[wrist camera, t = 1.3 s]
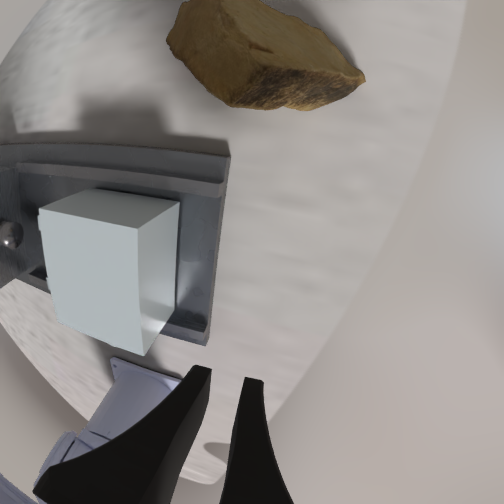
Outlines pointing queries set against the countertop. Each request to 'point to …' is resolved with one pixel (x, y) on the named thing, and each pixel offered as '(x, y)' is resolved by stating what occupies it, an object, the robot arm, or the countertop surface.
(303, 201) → the countertop surface
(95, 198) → the pale blue-grey box
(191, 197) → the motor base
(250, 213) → the countertop surface
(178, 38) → the rock
